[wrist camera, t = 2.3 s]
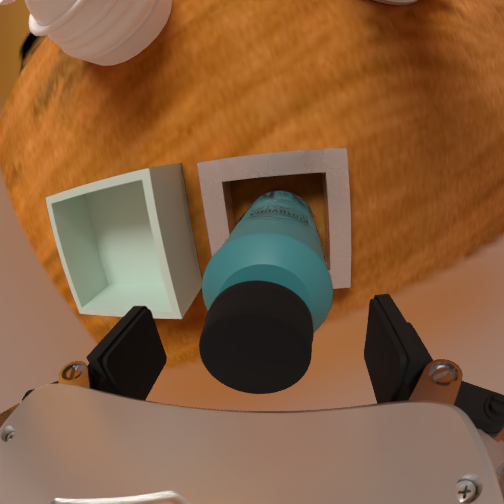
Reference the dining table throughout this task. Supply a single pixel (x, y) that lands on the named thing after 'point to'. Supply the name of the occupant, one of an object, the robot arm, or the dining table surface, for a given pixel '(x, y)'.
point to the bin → (128, 243)
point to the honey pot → (99, 26)
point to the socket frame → (275, 164)
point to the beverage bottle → (265, 297)
